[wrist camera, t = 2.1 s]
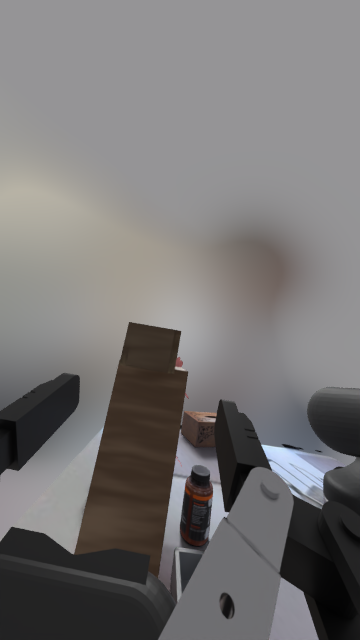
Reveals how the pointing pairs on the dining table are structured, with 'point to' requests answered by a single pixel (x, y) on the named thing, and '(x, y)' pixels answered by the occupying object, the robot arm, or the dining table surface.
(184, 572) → the narrow grey trough
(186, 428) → the tissue box cover
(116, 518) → the stand
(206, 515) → the supplement bottle
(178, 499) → the dining table surface
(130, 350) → the brown wooden bar
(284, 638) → the dining table surface
